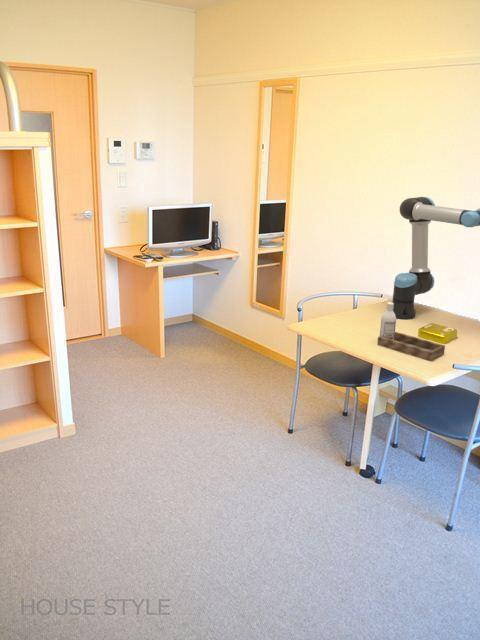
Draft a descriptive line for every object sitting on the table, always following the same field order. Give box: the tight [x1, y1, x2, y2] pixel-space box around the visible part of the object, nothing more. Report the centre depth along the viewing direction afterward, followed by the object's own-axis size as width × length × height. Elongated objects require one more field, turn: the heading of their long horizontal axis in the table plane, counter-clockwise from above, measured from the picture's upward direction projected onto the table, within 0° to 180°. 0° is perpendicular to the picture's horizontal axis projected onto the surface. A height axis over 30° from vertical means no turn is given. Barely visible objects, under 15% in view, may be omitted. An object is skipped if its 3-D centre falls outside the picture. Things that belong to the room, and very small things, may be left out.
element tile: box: [417, 322, 459, 345], centre depth 273 cm, size 15×15×5 cm
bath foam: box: [379, 301, 397, 341], centre depth 262 cm, size 7×7×20 cm
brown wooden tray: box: [377, 331, 446, 362], centre depth 256 cm, size 28×13×4 cm, turn 45°
